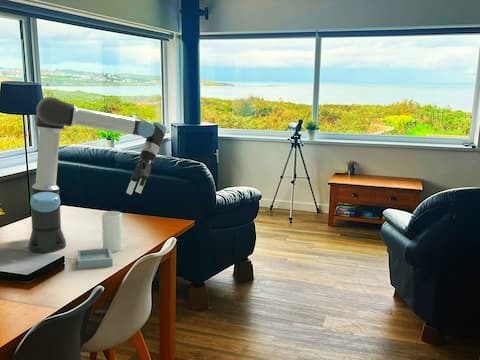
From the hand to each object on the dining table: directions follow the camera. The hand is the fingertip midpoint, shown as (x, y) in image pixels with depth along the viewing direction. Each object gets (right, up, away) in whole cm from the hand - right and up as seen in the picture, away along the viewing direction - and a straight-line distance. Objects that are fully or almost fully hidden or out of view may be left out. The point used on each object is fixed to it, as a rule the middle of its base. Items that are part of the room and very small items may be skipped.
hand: (133, 193), depth 220 cm
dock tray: (-8, -27, -32) cm, 42 cm away
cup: (-5, -24, -16) cm, 29 cm away
